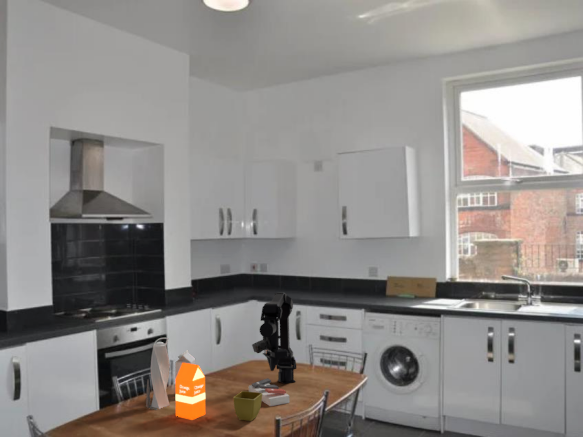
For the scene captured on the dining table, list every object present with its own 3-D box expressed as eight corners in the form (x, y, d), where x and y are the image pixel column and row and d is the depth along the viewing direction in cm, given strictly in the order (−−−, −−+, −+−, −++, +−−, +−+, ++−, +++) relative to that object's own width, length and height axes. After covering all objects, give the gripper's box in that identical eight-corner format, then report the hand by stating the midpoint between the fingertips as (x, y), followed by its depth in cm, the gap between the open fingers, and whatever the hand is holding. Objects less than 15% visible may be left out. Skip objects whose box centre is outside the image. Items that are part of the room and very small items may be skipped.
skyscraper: (160, 402, 225) (160, 336, 226) (174, 405, 220) (173, 338, 221) (145, 408, 218) (144, 339, 219) (158, 411, 213) (157, 341, 214)
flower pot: (263, 416, 205) (262, 392, 206) (254, 423, 197) (254, 399, 197) (242, 413, 208) (242, 390, 209) (232, 421, 200) (232, 397, 200)
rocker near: (267, 380, 239) (267, 378, 238) (271, 382, 235) (270, 379, 235) (251, 385, 235) (251, 383, 235) (255, 388, 232) (254, 385, 232)
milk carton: (195, 392, 237) (195, 349, 238) (191, 397, 230) (191, 353, 231) (180, 392, 238) (180, 349, 239) (175, 397, 231) (175, 353, 232)
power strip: (261, 386, 246) (261, 379, 246) (289, 402, 221) (289, 395, 221) (243, 389, 241) (243, 382, 241) (270, 406, 217) (269, 398, 217)
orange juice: (192, 420, 202) (191, 367, 203) (175, 416, 207) (175, 364, 207) (205, 414, 209) (205, 362, 209) (189, 410, 213) (188, 360, 214)
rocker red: (281, 391, 226) (282, 388, 226) (285, 393, 223) (286, 391, 223) (265, 390, 222) (265, 388, 223) (268, 393, 219) (269, 390, 219)
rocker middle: (274, 387, 232) (275, 384, 232) (278, 389, 229) (278, 386, 229) (258, 386, 229) (258, 384, 229) (261, 388, 226) (262, 386, 226)
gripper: (245, 331, 229) (245, 368, 228) (264, 338, 213) (264, 377, 212) (268, 329, 234) (269, 365, 234) (288, 335, 218) (288, 374, 217)
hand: (272, 370), depth 224 cm, fingers closed
